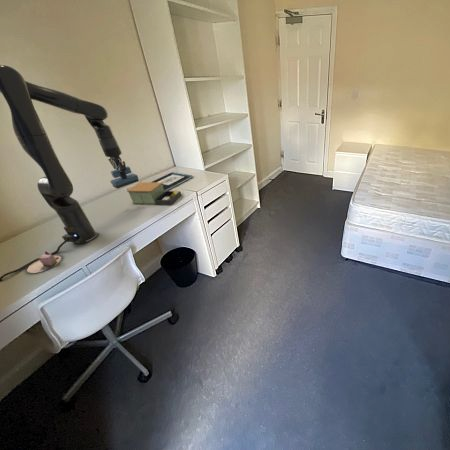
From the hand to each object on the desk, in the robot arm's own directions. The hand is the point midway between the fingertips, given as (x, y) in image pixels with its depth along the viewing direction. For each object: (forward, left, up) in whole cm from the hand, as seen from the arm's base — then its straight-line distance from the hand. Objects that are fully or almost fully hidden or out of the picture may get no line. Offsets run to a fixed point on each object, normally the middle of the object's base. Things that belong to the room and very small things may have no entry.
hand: (123, 177), depth 144 cm
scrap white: (+11, -13, -18) cm, 25 cm away
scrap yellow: (+17, -16, -19) cm, 30 cm away
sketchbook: (+39, +3, -21) cm, 45 cm away
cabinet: (+13, 0, -21) cm, 25 cm away
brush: (0, 0, -4) cm, 4 cm away
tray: (+13, -13, -21) cm, 28 cm away
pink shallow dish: (-50, +11, -21) cm, 55 cm away
